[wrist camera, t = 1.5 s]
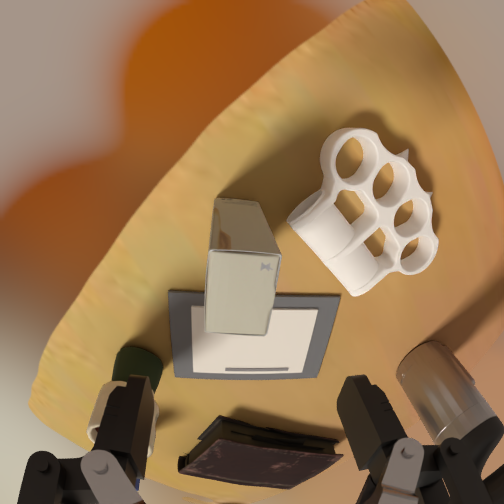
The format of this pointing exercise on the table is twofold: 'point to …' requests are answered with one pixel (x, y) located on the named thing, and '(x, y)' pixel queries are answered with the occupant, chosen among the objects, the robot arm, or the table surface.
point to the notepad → (252, 340)
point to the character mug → (125, 365)
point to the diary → (257, 455)
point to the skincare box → (240, 270)
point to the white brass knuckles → (366, 216)
